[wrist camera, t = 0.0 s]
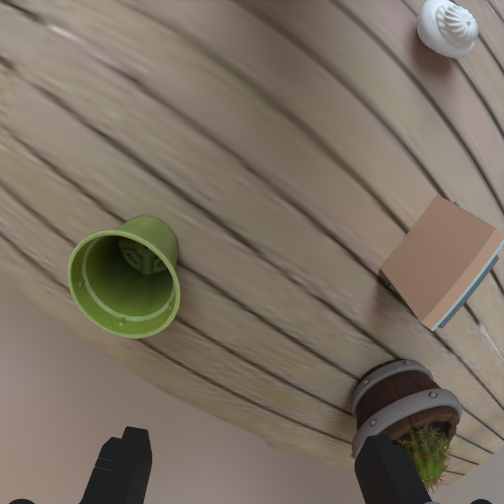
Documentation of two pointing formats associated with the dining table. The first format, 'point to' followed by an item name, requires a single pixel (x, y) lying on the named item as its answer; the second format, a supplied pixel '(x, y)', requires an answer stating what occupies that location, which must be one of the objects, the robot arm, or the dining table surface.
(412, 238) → the tile
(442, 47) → the white citrus juicer
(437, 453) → the flowerpot
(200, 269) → the dining table surface
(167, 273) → the plant pot
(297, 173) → the dining table surface
